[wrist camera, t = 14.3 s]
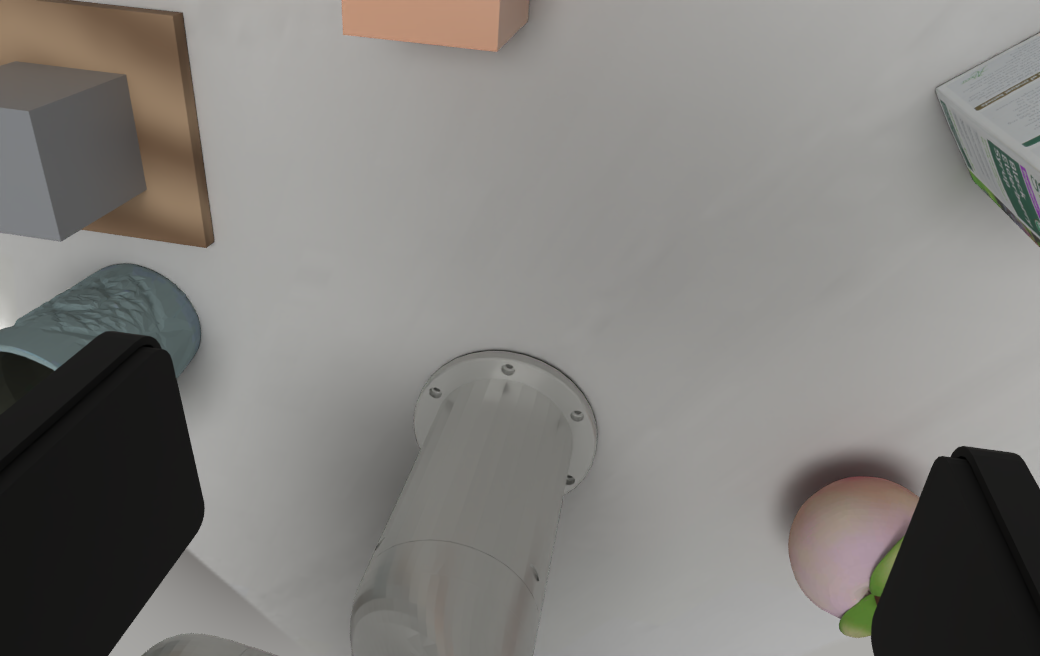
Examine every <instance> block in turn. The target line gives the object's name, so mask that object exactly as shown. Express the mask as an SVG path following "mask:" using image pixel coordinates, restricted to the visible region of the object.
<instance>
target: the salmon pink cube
mask: <svg viewBox="0 0 1040 656" xmlns="http://www.w3.org/2000/svg"><path fill="white" fill-rule="evenodd" d="M528 14H529V0H342V19H343V35H351V36H360V37H369V38H378V39H387V40H396V41H405V42H414V43H423V44H432V45H441V46H450V47H459V48H468V49H477V50H486V51H495V52H498V51H499V50H500V49H501V48H502V47H503V46H504V45H505V44H506V43H507V42H508V41H509V40H510V39H511V38H512V37H513V36H514V35H515V34H516V33H517V32H518V31H519V30H520V29H521V28H522V27H523V26H524V25H525V24H526V23H527V22H528Z"/></svg>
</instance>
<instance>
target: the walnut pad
mask: <svg viewBox="0 0 1040 656" xmlns="http://www.w3.org/2000/svg"><path fill="white" fill-rule="evenodd" d="M15 61H18V62H26V63H34V64H43V65H51V66H59V67H67V68H76V69H84V70H92V71H100V72H109V73H117V74H125V75H126V77H127V82H128V88H129V93H130V99H131V104H132V110H133V115H134V121H135V126H136V132H137V138H138V143H139V149H140V154H141V160H142V165H143V171H144V176H145V182H146V187H147V190H146V191H144V192H142V193H141V194H139V195H137V196H136V197H134V198H132V199H131V200H129V201H127V202H126V203H124V204H122V205H121V206H119V207H117V208H116V209H114V210H112V211H111V212H109V213H107V214H106V215H104V216H102V217H101V218H99V219H98V220H96V221H94V222H93V223H91V224H89V225H88V226H86V227H84V228H83V229H81V230H88V231H95V232H102V233H109V234H115V235H122V236H129V237H136V238H143V239H149V240H156V241H163V242H170V243H177V244H183V245H190V246H197V247H204V248H207V247H208V246H209V245H211V244H212V243H213V242H214V236H213V229H212V222H211V215H210V207H209V200H208V193H207V186H206V179H205V172H204V164H203V157H202V150H201V143H200V136H199V128H198V121H197V114H196V107H195V100H194V93H193V85H192V78H191V71H190V64H189V57H188V50H187V42H186V35H185V28H184V21H183V14H182V13H179V12H170V11H161V10H152V9H143V8H134V7H125V6H116V5H107V4H98V3H89V2H80V1H71V0H0V66H1V65H4V64H8V63H11V62H15Z"/></svg>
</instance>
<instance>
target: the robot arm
mask: <svg viewBox="0 0 1040 656" xmlns="http://www.w3.org/2000/svg"><path fill="white" fill-rule="evenodd" d="M509 364H510V365H509ZM414 431H415V435H416V440H417V443H418V445H419V448H420V452H419V454H418V457H417V459H416V461H415V463H414V465H413V468H412V470H411V472H410V474H409V476H408V479H407V481H406V483H405V485H404V488H403V490H402V492H401V494H400V496H399V499H398V501H397V503H396V505H395V507H394V510H393V512H392V514H391V516H390V518H389V521H388V523H387V525H386V527H385V529H384V532H383V534H382V536H381V538H380V541H379V543H378V545H377V547H376V549H375V552H374V554H373V556H372V558H371V561H370V563H369V565H368V567H367V569H366V572H365V574H364V576H363V578H362V580H361V583H360V585H359V587H358V589H357V592H356V595H355V598H354V602H353V607H352V613H351V620H350V641H351V648H352V655H353V656H533V652H534V647H535V642H536V636H537V631H538V626H539V621H540V616H541V610H542V605H543V600H544V595H545V590H546V584H547V579H548V574H549V569H550V564H551V558H552V553H553V548H554V543H555V537H556V532H557V527H558V522H559V517H560V511H561V506H562V501H563V496H564V495H566V494H567V493H569V492H570V491H571V490H573V489H574V488H576V487H577V485H578V484H579V483H580V482H581V481H582V480H583V479H584V478H585V476H586V475H587V473H588V471H589V469H590V468H591V466H592V463H593V459H594V456H595V452H596V444H597V428H596V421H595V418H594V415H593V412H592V409H591V407H590V405H589V404H588V402H587V400H586V398H585V397H584V395H583V394H582V392H581V391H580V390H579V389H578V388H577V387H576V386H575V384H574V383H573V382H572V381H571V380H569V379H568V378H567V377H566V376H565V375H563V374H562V373H561V372H560V371H558V370H557V369H555V368H553V367H551V366H550V365H548V364H546V363H544V362H542V361H540V360H537V359H534V358H532V357H529V356H526V355H522V354H517V353H512V352H507V351H485V352H477V353H471V354H468V355H465V356H462V357H459V358H456V359H454V360H452V361H451V362H449V363H447V364H445V365H444V366H442V367H441V368H440V369H439V370H438V371H437V372H435V373H434V374H433V375H432V376H431V378H430V379H429V380H428V382H427V383H426V385H425V386H424V388H423V390H422V392H421V394H420V396H419V398H418V400H417V404H416V408H415V412H414ZM204 509H205V508H204V500H203V496H202V491H201V487H200V482H199V478H198V473H197V469H196V464H195V460H194V455H193V451H192V446H191V442H190V438H189V433H188V429H187V424H186V420H185V415H184V411H183V406H182V402H181V397H180V393H179V388H178V384H177V379H176V375H175V370H174V366H173V361H172V358H171V355H170V354H169V353H168V351H166V350H164V349H162V348H161V346H160V343H159V342H158V341H157V340H156V339H155V338H153V337H151V336H146V335H139V334H131V333H124V332H117V331H105V332H103V333H102V334H100V335H98V336H97V337H96V338H94V339H93V340H92V341H91V342H90V343H88V344H87V345H86V346H85V347H83V348H82V349H81V350H80V351H78V352H77V353H76V354H75V355H74V356H72V357H71V358H70V359H69V360H67V361H66V362H65V363H64V364H62V365H61V366H60V367H59V368H57V369H56V370H55V371H54V372H53V373H51V374H50V375H49V376H48V377H46V378H45V379H44V380H43V381H41V382H40V383H39V384H38V385H37V386H35V387H34V388H33V389H32V390H30V391H29V392H28V393H27V394H25V395H24V396H23V397H22V398H21V399H19V400H18V401H17V402H16V403H14V404H13V405H12V406H11V407H9V408H8V409H7V410H6V411H4V412H3V413H2V414H1V415H0V656H108V655H109V654H110V652H111V651H112V649H113V648H114V647H115V645H116V644H117V642H118V641H119V640H120V638H121V637H122V636H123V634H124V633H125V631H126V630H127V629H128V627H129V626H130V625H131V623H132V622H133V620H134V619H135V618H136V616H137V615H138V614H139V612H140V611H141V609H142V608H143V607H144V605H145V604H146V602H147V601H148V600H149V598H150V597H151V596H152V594H153V593H154V591H155V590H156V589H157V587H158V586H159V584H160V583H161V582H162V580H163V579H164V578H165V576H166V575H167V574H168V572H169V571H170V569H171V568H172V567H173V565H174V564H175V563H176V561H177V560H178V558H179V557H180V556H181V554H182V553H183V551H184V550H185V549H186V547H187V546H188V545H189V543H190V542H191V541H192V539H193V538H194V536H195V535H196V534H197V532H198V530H199V529H200V526H201V524H202V521H203V517H204ZM871 642H872V648H873V653H874V656H1040V489H1039V487H1038V485H1037V483H1036V481H1035V480H1034V478H1033V476H1032V474H1031V472H1030V471H1029V469H1028V467H1027V465H1026V464H1025V462H1024V461H1023V459H1022V458H1021V457H1020V456H1019V455H1017V454H1015V453H1010V452H1003V451H996V450H988V449H981V448H973V447H966V446H962V447H958V448H957V449H956V450H955V451H954V452H953V453H952V455H951V457H944V456H941V457H938V458H937V459H936V460H935V462H934V464H933V466H932V468H931V470H930V473H929V475H928V478H927V480H926V483H925V486H924V488H923V491H922V493H921V496H920V498H919V501H918V503H917V506H916V508H915V511H914V513H913V516H912V518H911V521H910V523H909V526H908V528H907V531H906V533H905V536H904V539H903V541H902V544H901V546H900V549H899V551H898V554H897V556H896V559H895V561H894V564H893V566H892V569H891V571H890V574H889V576H888V579H887V581H886V584H885V587H884V589H883V592H882V594H881V597H880V599H879V602H878V604H877V607H876V609H875V612H874V615H873V618H872V625H871ZM142 656H278V655H275V654H272V653H269V652H266V651H263V650H260V649H257V648H253V647H250V646H247V645H244V644H241V643H238V642H234V641H232V640H228V639H224V638H220V637H217V636H212V635H205V634H194V633H193V634H192V633H190V634H181V635H177V636H174V637H170V638H167V639H165V640H163V641H161V642H159V643H158V644H156V645H154V646H153V647H151V648H150V649H149V650H148V651H147V652H145V653H144V654H143V655H142Z"/></svg>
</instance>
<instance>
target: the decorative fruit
mask: <svg viewBox="0 0 1040 656" xmlns="http://www.w3.org/2000/svg"><path fill="white" fill-rule="evenodd" d="M918 501H919V497H918V496H917V495H915V494H914V493H912V492H911V491H910V490H908V489H906V488H905V487H903V486H901V485H899V484H897V483H894V482H892V481H889V480H886V479H883V478H877V477H864V476H858V477H849V478H844V479H841V480H838V481H835V482H833V483H831V484H829V485H827V486H825V487H823V488H822V489H820V490H819V491H817V492H816V493H815V494H814V495H812V496H811V497H810V498H809V499H808V500H806V501H805V503H804V504H803V505H802V506H801V508H800V509H799V511H798V513H797V514H796V516H795V519H794V521H793V523H792V526H791V530H790V535H789V543H788V547H789V557H790V562H791V566H792V570H793V573H794V576H795V578H796V580H797V582H798V584H799V586H800V588H801V589H802V591H803V592H804V593H805V595H806V596H807V597H808V598H809V599H810V600H811V601H812V602H813V603H814V604H815V605H816V606H818V607H819V608H821V609H822V610H824V611H826V612H828V613H830V614H832V615H834V616H836V617H838V618H840V619H841V620H840V623H839V629H840V631H841V632H842V633H843V634H844V635H847V636H850V637H855V638H860V637H867V636H870V635H871V625H872V618H873V615H874V612H875V609H876V607H877V604H878V602H879V599H880V597H881V594H882V592H883V589H884V587H885V584H886V581H887V579H888V576H889V574H890V571H891V569H892V566H893V564H894V561H895V559H896V556H897V554H898V551H899V549H900V546H901V544H902V541H903V539H904V536H905V533H906V531H907V528H908V526H909V523H910V521H911V518H912V516H913V513H914V511H915V508H916V506H917V503H918Z"/></svg>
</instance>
